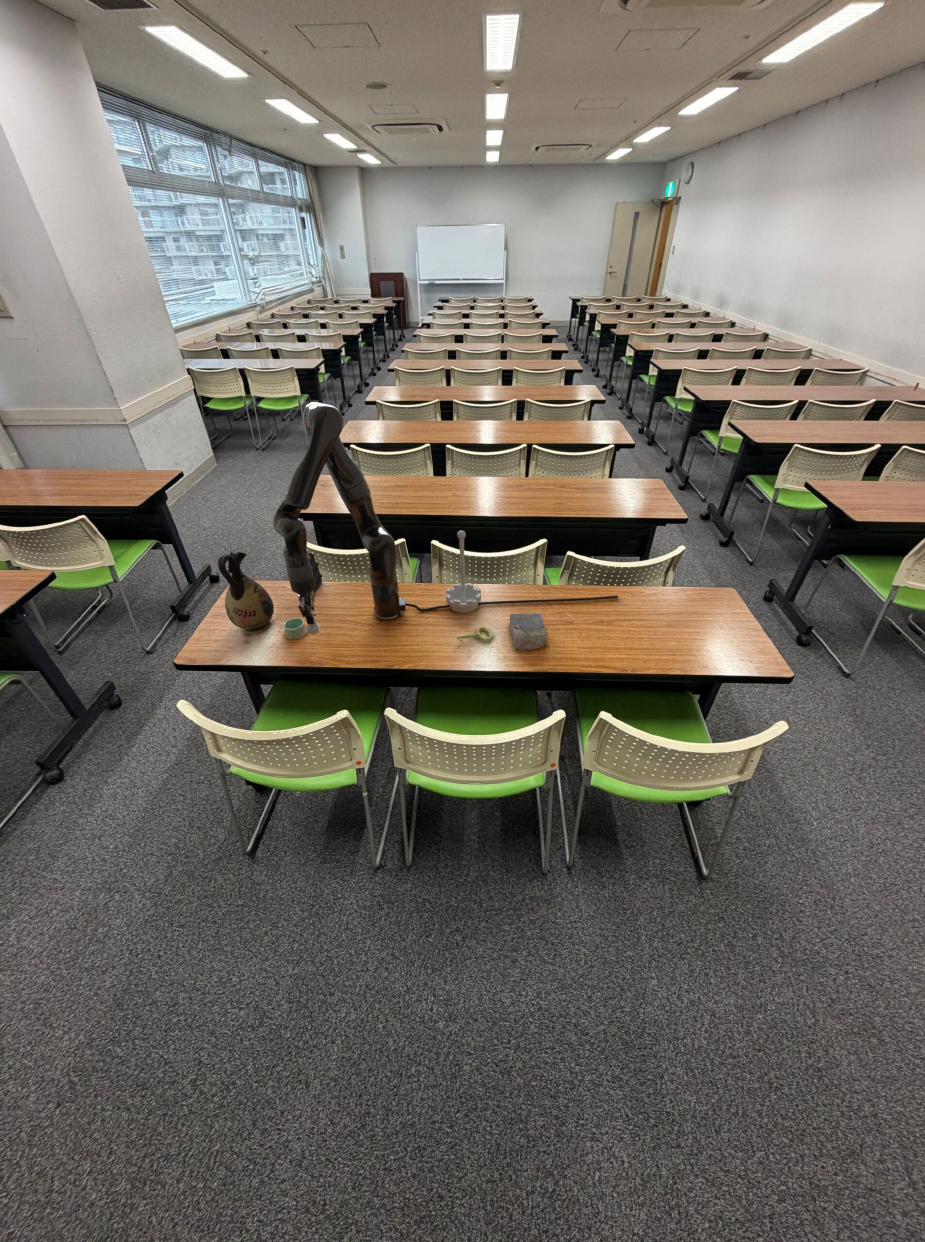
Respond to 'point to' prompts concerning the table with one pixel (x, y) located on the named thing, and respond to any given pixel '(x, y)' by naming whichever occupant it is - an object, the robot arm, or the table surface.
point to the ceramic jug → (245, 597)
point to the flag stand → (463, 587)
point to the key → (477, 635)
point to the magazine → (315, 571)
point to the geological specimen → (528, 631)
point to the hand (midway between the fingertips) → (311, 619)
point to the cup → (294, 628)
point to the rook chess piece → (313, 626)
